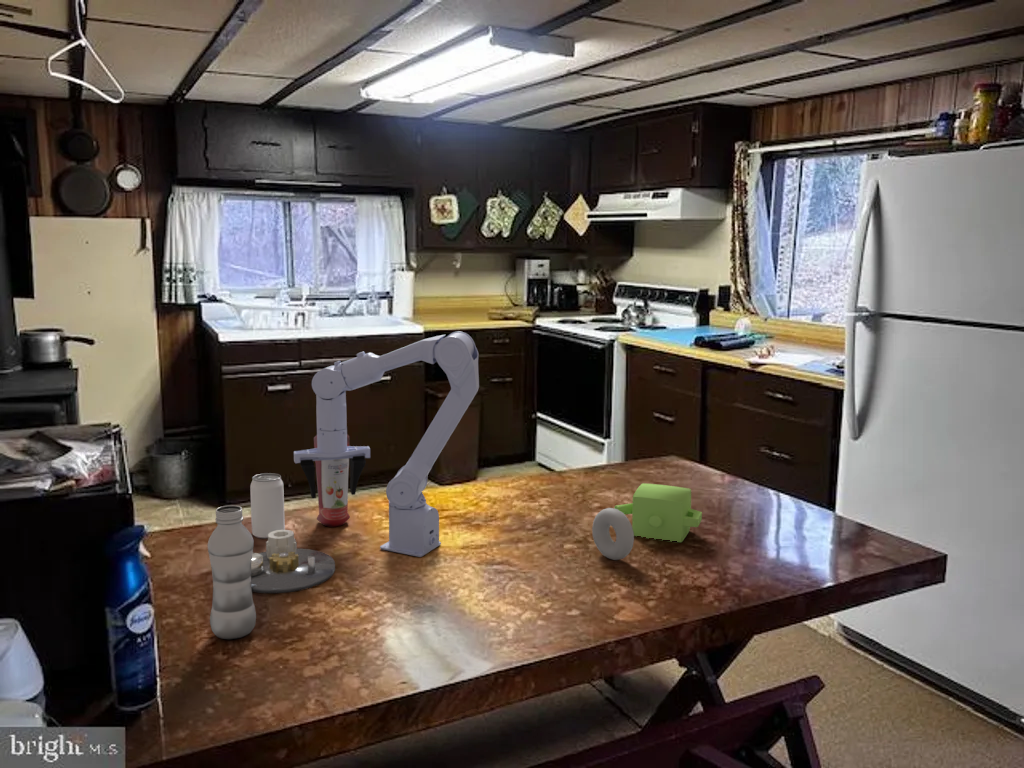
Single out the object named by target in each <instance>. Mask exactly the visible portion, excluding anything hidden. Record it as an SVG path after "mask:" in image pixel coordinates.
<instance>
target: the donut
mask: <svg viewBox="0 0 1024 768" xmlns="http://www.w3.org/2000/svg"><path fill="white" fill-rule="evenodd" d="M591 527H592V529H591V531H592V539H593V542H594V544H595V546H596V547H597V550H598V551H599V552H600V553H601V555H602V556H604V557H605V558H607V559H609V560H613V561H618V560H622V559H625V558H626V557H627V556H628V555H630V553H631V551H632V549H633V548H634V542H635V536H634V532H633V529H632V523H631V522H630V519H629V518H628V517H627V515H625V514H624V513H623V512H621V511H619V510H618V509H614V508H613V507H607V508H604V509H601V510H600V511H599V512H598V513H597V514H596V515H595V517H594V519H593V522H592V526H591ZM611 527H612V529H613V530H614V533H615V541H614V540H613V538H612V537H611V533H610V529H611Z"/></svg>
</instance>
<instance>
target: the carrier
mask: <svg viewBox="0 0 1024 768" xmlns="http://www.w3.org/2000/svg"><path fill="white" fill-rule="evenodd" d="M335 572H336V561H335V560H334V558H333V557H332V556H331V555H329V554H328V553H326V552H323V551H318V550H315V549H309V548H297V554H295V552H285V551H283V552H281V553H278V554H275V553H274V554H272V557H269V558H267V554H266V551H264V552H259V553H257V552H253V554H252V562H251V575H250V576H251V589H252V593H259V594H284V593H285V594H287V593H293V592H298V591H304V590H306V589H307V588H308V589H310V588H313V586H314V587H316V586H319V585H321V584H323V583H325V582H326V581H328V580H329V579H330V578H332V576H333V575H334V574H335ZM303 589H304V590H303ZM308 589H307V590H308Z"/></svg>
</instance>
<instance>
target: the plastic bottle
mask: <svg viewBox="0 0 1024 768" xmlns="http://www.w3.org/2000/svg"><path fill="white" fill-rule="evenodd" d="M243 521H244V516H243V508H242V506H240V505H232V504H231V505H223V506H220V507H217V508H216V509H215V523H216V524H217V526H216V527H215V528H214V530H213V531H212V533H211V534H210V537H209V538H208V542H207V552H208V557H209V563H210V567H211V575H212V585H213V587H212V589H213V590H212V602H211V603H212V606H211V610H210V616H209V617H210V618H209V623H210V628H211V631H212V633H213V634H214V635H215V636H216V637H217V638H219V639H222V640H223V639H224V640H233V639H240V638H243V637H246V636H248V635H249V634H250V633H251V632H252V631H253V630H254V628H255V626H256V621H257V620H256V619H257V613H256V607H255V603H254V600H253V592H252V589H251V576H250V575H251V562H252V554H253V553H254V543H255V542H254V537H253V534H252V532H250V531H249V529H248V528H247V527H246V526H245V525H244V524H243V523H242V522H243Z"/></svg>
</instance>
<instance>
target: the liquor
mask: <svg viewBox="0 0 1024 768" xmlns="http://www.w3.org/2000/svg"><path fill="white" fill-rule="evenodd" d="M347 446H350V435H349V434H347ZM313 447H314V448H317V434H316V435H315V436H314V437H313ZM314 448H313V449H314ZM314 462H315V464H314V465H315V475H316V485H317V500H318V515H317V517H316V520H317V521H318V522H319V523H321V524H322V525H323V526H324V527H327V528H328V527H329V528H336V527H337V528H338V527H341V526H343V525H345V524H346V523H347V522H348V520H349V519H350V518H351V517H350V514H349V512H348V511H349V510H348V509H349V508H348V507H349V503H348V500H349V499H348V498H349V497H348V495H349V470H350V469H349V468H350V458H348V459H334V460H320V461H314Z"/></svg>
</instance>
